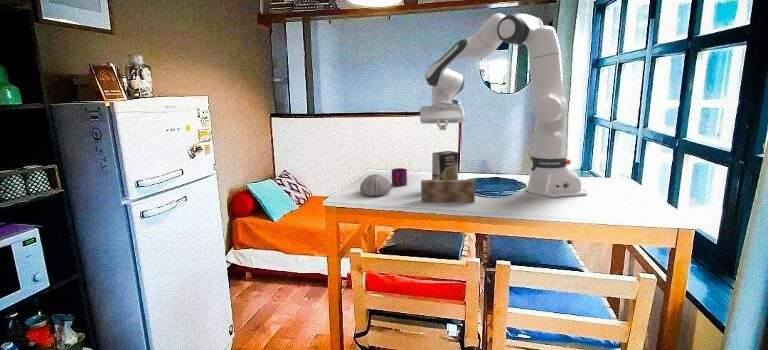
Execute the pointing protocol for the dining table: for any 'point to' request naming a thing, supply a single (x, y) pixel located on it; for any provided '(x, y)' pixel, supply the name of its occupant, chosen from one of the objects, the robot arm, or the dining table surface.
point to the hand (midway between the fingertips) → (442, 129)
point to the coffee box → (445, 165)
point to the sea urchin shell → (375, 185)
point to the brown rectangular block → (447, 190)
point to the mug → (399, 177)
